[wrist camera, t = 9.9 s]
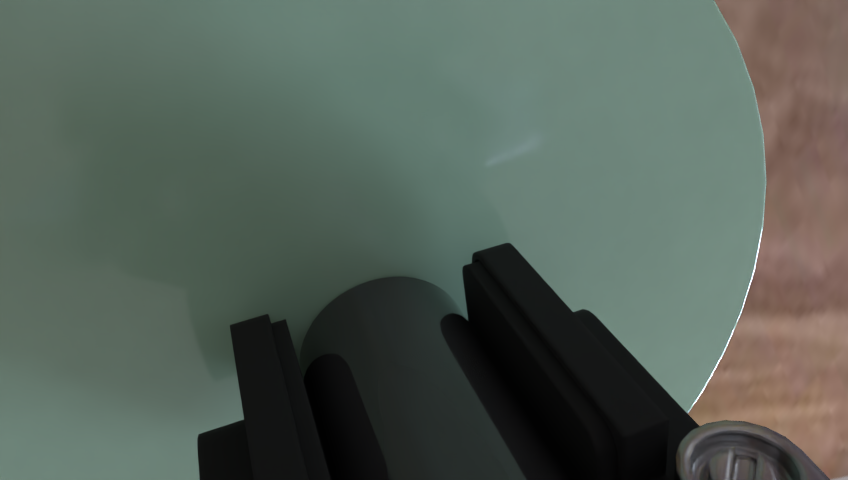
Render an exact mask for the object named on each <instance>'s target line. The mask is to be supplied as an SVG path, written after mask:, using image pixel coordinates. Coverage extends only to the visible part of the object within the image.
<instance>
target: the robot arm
mask: <svg viewBox="0 0 848 480" xmlns="http://www.w3.org/2000/svg"><path fill="white" fill-rule="evenodd" d="M462 274H463V283H464V291H465V299H466V306H467V314H468V322H469V323H470V325H471V326H472V328H473V329H474V331H475V332H476V334H477V335H478V337H479V338H480V340H481V341H482V343H483V344H484V346H485V347H486V349H487V351H488V352H489V354H490V355H491V357H492V358H493V360H494V361H495V363H496V364H497V366H498V367H499V369H500V370H501V372H502V373H503V375H504V376H505V378H506V379H507V381H508V382H509V384H510V385H511V387H512V388H513V390H514V391H515V393H516V394H517V396H518V397H519V399H520V400H521V402H522V403H523V405H524V406H525V408H526V409H527V411H528V412H529V414H530V415H531V417H532V418H533V420H534V421H535V423H536V425H537V426H538V428H539V429H540V431H541V432H542V434H543V435H544V437H545V438H546V440H547V441H548V443H549V444H550V446H551V447H552V449H553V450H554V452H555V453H556V455H557V456H558V458H559V459H560V461H561V462H562V464H563V465H564V467H565V468H566V470H567V471H568V473H569V474H570V476H571V477H572V479H573V480H830V479H829V478H828V477H827V476H826V475H825V474H824V473H823V472H822V471H821V470H820V469H819V468H818V467H817V466H816V465H815V463H814V462H813V461H812V460H811V459H810V458H809V457H808V456H807V455H806V454H805V453H804V452H803V451H802V450H801V449H800V448H798V447H797V446H796V445H795V444H793V443H792V442H791V441H790V440H789V439H787V438H786V437H785V436H783V435H781V434H779V433H777V432H775V431H773V430H771V429H769V428H767V427H764V426H760V425H756V424H752V423H749V422H745V421H728V420H724V421H718V422H712V423H706V424H704V425H702V426H699V425H698V424H697V423H696V422H695V421H694V420H693V419H692V418H691V417H690V416H689V415H688V414H687V413H686V412H685V410H684V409H683V408H682V407H681V406H680V405H679V404H678V403H677V402H676V401H675V400H674V399H673V398H672V397H671V396H670V394H669V393H668V392H667V391H666V390H665V389H664V388H663V387H662V386H661V385H660V384H659V383H658V382H657V381H656V380H655V379H654V377H653V376H652V375H651V374H650V373H649V372H648V371H647V370H646V369H645V368H644V367H643V366H642V365H641V364H640V363H639V361H638V360H637V359H636V358H635V357H634V356H633V355H632V354H631V353H630V352H629V351H628V350H627V349H626V348H625V347H624V346H623V344H622V343H621V342H620V341H619V340H618V339H617V338H616V337H615V336H614V335H613V334H612V333H611V332H610V331H609V330H608V328H607V327H606V326H605V325H604V324H603V323H602V322H601V321H600V320H599V319H598V318H597V317H596V316H595V315H594V314H593V313H591V312H590V311H589V310H585V309H581V310H578V311H575V312H572V310H571V309H570V308H569V307H568V306H567V305H566V304H565V303H564V302H563V300H562V299H561V298H560V297H559V296H558V295H557V294H556V293H555V292H554V290H553V289H552V288H551V287H550V286H549V285H548V284H547V283H546V282H545V280H544V279H543V278H542V277H541V276H540V275H539V274H538V273H537V271H536V270H535V269H534V268H533V267H532V266H531V265H530V264H529V263H528V261H527V260H526V259H525V258H524V257H523V256H522V255H521V254H520V253H519V251H518V250H517V249H516V248H515V247H514V246H513V245H512V244H511V243H504V244H501V245H497V246H494V247H491V248H487V249H484V250H480V251H477V252H474V253H473V255H472V263H471V264H467V265H464V266H463V269H462ZM230 332H231V338H232V345H233V351H234V358H235V364H236V370H237V377H238V383H239V390H240V396H241V402H242V409H243V415H244V420H241V421H237V422H234V423H231V424H228V425H225V426H222V427H219V428H216V429H213V430H210V431H207V432H204V433H201V434H199V435H198V438H197V449H198V463H199V477H200V480H332V479H331V476H330V472H329V469H328V465H327V461H326V458H325V454H324V451H323V447H322V444H321V440H320V436H319V433H318V429H317V426H316V422H315V419H314V415H313V411H312V408H311V404H310V401H309V397H308V394H307V390H306V386H305V383H304V379H303V376H302V373H301V369H300V366H299V362H298V359H297V356H296V352H295V349H294V345H293V342H292V338H291V335H290V332H289V328H288V325H287V322H286V319H284V320H281V321H277V322H274V323H271V320H270V317H269V315H268V314H265V315H262V316H258V317H255V318H252V319H248V320H245V321H242V322H238V323H235V324H232V325H230Z"/></svg>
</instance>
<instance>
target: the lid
mask: <svg viewBox="0 0 848 480" xmlns="http://www.w3.org/2000/svg"><path fill="white" fill-rule="evenodd" d="M765 194H766V168H765V151H764V135H763V130H762V125H761V120H760V115H759V110H758V106H757V101H756V96H755V91H754V87H753V84H752V81H751V79H750V76H749V73H748V70H747V68H746V65H745V62H744V60H743V57H742V54H741V51H740V49H739V46H738V43H737V41H736V39H735V37H734V35H733V33H732V32H731V30H730V28H729V26H728V24H727V23H726V21H725V19H724V17H723V15H722V14H721V12H720V10H719V8H718V6H717V5H716V3H715V1H714V0H0V480H200V477H199V463H198V449H197V438H198V435H199V434H201V433H204V432H207V431H210V430H213V429H216V428H219V427H222V426H225V425H228V424H231V423H234V422H237V421H241V420H244V415H243V409H242V402H241V396H240V390H239V383H238V377H237V370H236V364H235V358H234V351H233V345H232V338H231V332H230V325H232V324H235V323H238V322H242V321H245V320H248V319H252V318H255V317H258V316H262V315H265V314H268V315H269V317H270V320H271V323H274V322H277V321H281V320H284V319H286V322H287V325H288V328H289V332H290V335H291V338H292V342H293V345H294V349H295V352H296V356H297V359H298V362H299V366H300V369H301V373H302V376H303V379H304V383H305V386H306V390H307V394H308V397H309V401H310V404H311V408H312V411H313V415H314V419H315V422H316V426H317V429H318V433H319V436H320V440H321V444H322V447H323V451H324V454H325V458H326V461H327V465H328V469H329V472H330V476H331V479H332V480H573V479H572V477H571V476H570V474H569V473H568V471H567V470H566V468H565V467H564V465H563V464H562V462H561V461H560V459H559V458H558V456H557V455H556V453H555V452H554V450H553V449H552V447H551V446H550V444H549V443H548V441H547V440H546V438H545V437H544V435H543V434H542V432H541V431H540V429H539V428H538V426H537V425H536V423H535V421H534V420H533V418H532V417H531V415H530V414H529V412H528V411H527V409H526V408H525V406H524V405H523V403H522V402H521V400H520V399H519V397H518V396H517V394H516V393H515V391H514V390H513V388H512V387H511V385H510V384H509V382H508V381H507V379H506V378H505V376H504V375H503V373H502V372H501V370H500V369H499V367H498V366H497V364H496V363H495V361H494V360H493V358H492V357H491V355H490V354H489V352H488V351H487V349H486V347H485V346H484V344H483V343H482V341H481V340H480V338H479V337H478V335H477V334H476V332H475V331H474V329H473V328H472V326H471V325H470V323H469V322H468V314H467V306H466V299H465V291H464V283H463V274H462V269H463V266H464V265H467V264H471V263H472V255H473V253H474V252H477V251H480V250H484V249H487V248H491V247H494V246H497V245H501V244H504V243H511V244H512V245H513V246H514V247H515V248H516V249H517V250H518V251H519V253H520V254H521V255H522V256H523V257H524V258H525V259H526V260H527V261H528V263H529V264H530V265H531V266H532V267H533V268H534V269H535V270H536V271H537V273H538V274H539V275H540V276H541V277H542V278H543V279H544V280H545V282H546V283H547V284H548V285H549V286H550V287H551V288H552V289H553V290H554V292H555V293H556V294H557V295H558V296H559V297H560V298H561V299H562V300H563V302H564V303H565V304H566V305H567V306H568V307H569V308H570V309H571V310H572V312H575V311H578V310H581V309H585V310H589V311H590V312H591V313H593V314H594V315H595V316H596V317H597V318H598V319H599V320H600V321H601V322H602V323H603V324H604V325H605V326H606V327H607V328H608V330H609V331H610V332H611V333H612V334H613V335H614V336H615V337H616V338H617V339H618V340H619V341H620V342H621V343H622V344H623V346H624V347H625V348H626V349H627V350H628V351H629V352H630V353H631V354H632V355H633V356H634V357H635V358H636V359H637V360H638V361H639V363H640V364H641V365H642V366H643V367H644V368H645V369H646V370H647V371H648V372H649V373H650V374H651V375H652V376H653V377H654V379H655V380H656V381H657V382H658V383H659V384H660V385H661V386H662V387H663V388H664V389H665V390H666V391H667V392H668V393H669V394H670V396H671V397H672V398H673V399H674V400H675V401H676V402H677V403H678V404H679V405H680V406H681V407H682V408H683V409H684V410H685V412H686V413H687V414H688V412H689V411H690V409H691V408H692V407H693V405H694V404H695V402H696V401H697V399H698V398H699V396H700V395H701V393H702V392H703V390H704V388H705V387H706V385H707V383H708V381H709V379H710V378H711V376H712V374H713V372H714V370H715V369H716V367H717V365H718V363H719V361H720V360H721V358H722V356H723V354H724V352H725V350H726V348H727V345H728V343H729V341H730V338H731V336H732V334H733V331H734V329H735V327H736V324H737V322H738V320H739V317H740V315H741V313H742V310H743V306H744V303H745V300H746V297H747V294H748V290H749V287H750V284H751V281H752V278H753V275H754V271H755V266H756V261H757V256H758V251H759V246H760V241H761V236H762V230H763V222H764V208H765Z"/></svg>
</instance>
